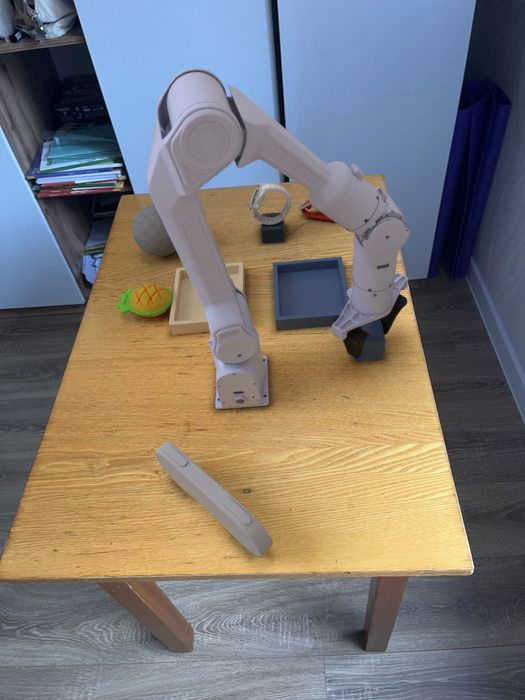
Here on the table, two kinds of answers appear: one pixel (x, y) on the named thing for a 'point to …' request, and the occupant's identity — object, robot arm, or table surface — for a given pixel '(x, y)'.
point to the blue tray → (309, 292)
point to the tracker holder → (310, 214)
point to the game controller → (215, 499)
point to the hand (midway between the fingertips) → (367, 342)
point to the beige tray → (195, 301)
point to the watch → (270, 221)
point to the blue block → (373, 341)
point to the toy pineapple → (146, 300)
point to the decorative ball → (151, 232)
